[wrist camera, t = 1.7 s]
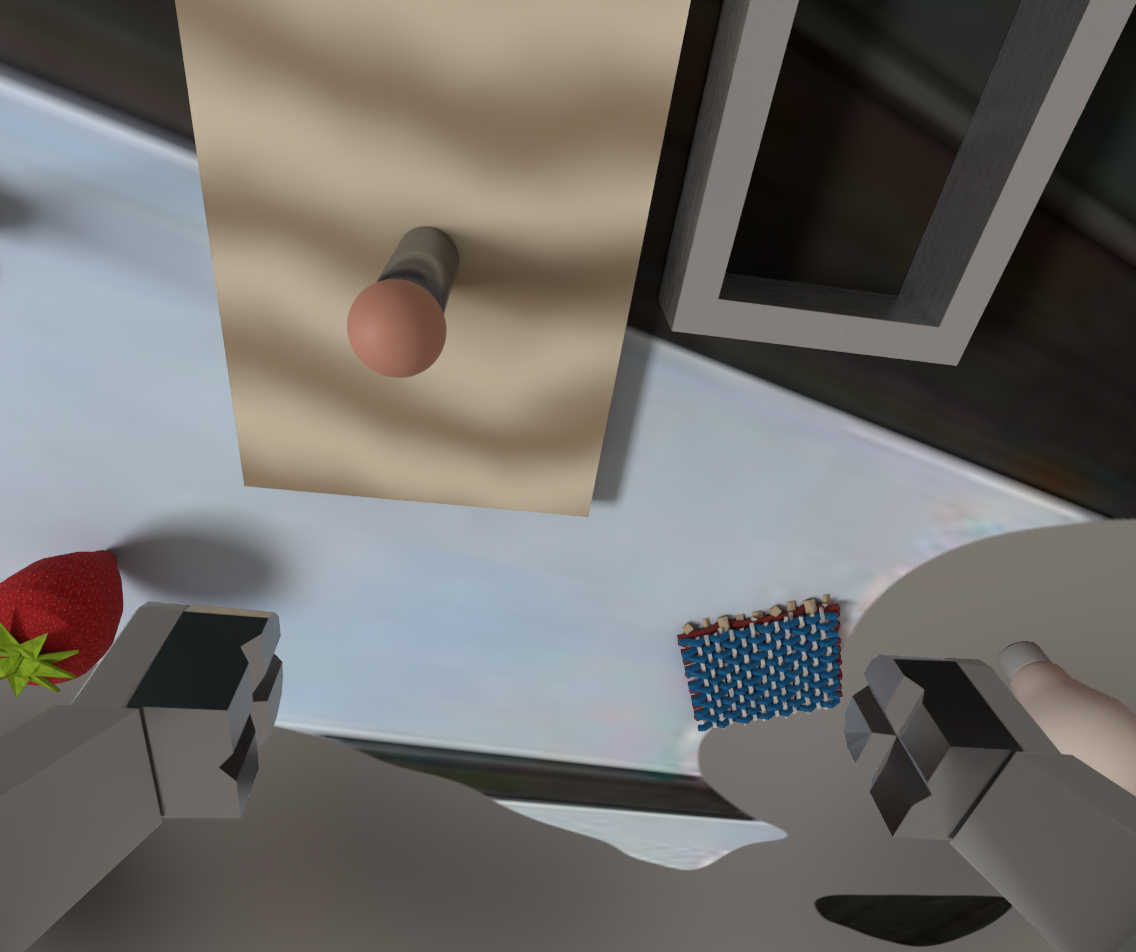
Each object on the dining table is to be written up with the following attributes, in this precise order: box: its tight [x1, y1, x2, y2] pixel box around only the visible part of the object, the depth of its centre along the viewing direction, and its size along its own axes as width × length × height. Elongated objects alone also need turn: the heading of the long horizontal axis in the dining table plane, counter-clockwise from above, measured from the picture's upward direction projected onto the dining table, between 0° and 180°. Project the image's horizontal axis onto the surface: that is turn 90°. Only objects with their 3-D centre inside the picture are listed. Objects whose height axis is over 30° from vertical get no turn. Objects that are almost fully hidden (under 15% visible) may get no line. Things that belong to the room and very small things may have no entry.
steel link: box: [658, 0, 1136, 366], centre depth 27 cm, size 18×13×4 cm
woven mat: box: [677, 594, 842, 731], centre depth 47 cm, size 10×11×2 cm
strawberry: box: [0, 550, 123, 697], centre depth 36 cm, size 6×8×10 cm
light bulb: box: [998, 641, 1136, 796], centre depth 43 cm, size 7×7×11 cm
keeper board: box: [175, 0, 691, 517], centre depth 26 cm, size 26×18×11 cm
